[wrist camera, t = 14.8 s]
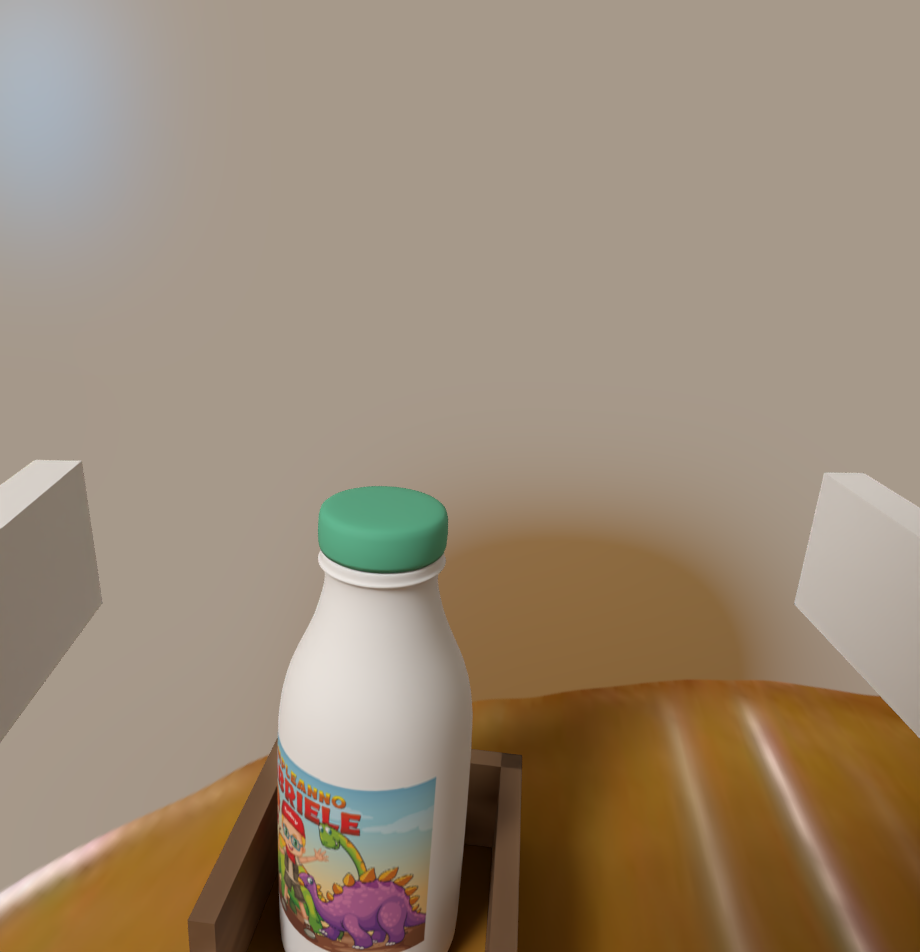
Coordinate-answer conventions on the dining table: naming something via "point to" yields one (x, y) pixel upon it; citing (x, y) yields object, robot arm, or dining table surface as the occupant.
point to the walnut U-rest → (256, 865)
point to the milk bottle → (374, 738)
